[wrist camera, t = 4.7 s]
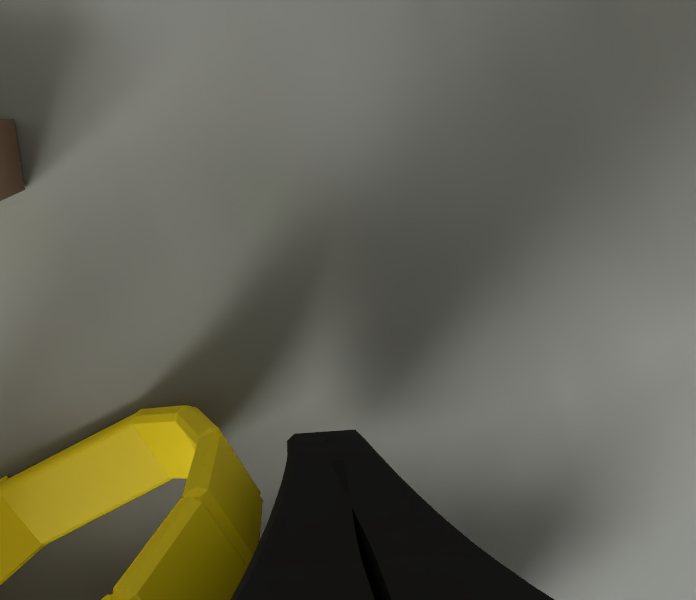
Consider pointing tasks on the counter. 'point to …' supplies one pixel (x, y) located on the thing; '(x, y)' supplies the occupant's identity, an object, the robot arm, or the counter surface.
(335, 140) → the counter surface
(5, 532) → the watch
